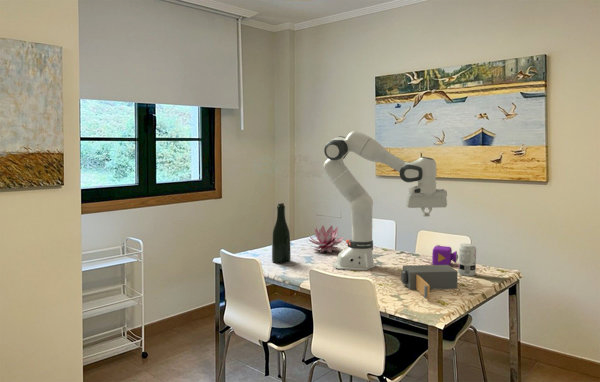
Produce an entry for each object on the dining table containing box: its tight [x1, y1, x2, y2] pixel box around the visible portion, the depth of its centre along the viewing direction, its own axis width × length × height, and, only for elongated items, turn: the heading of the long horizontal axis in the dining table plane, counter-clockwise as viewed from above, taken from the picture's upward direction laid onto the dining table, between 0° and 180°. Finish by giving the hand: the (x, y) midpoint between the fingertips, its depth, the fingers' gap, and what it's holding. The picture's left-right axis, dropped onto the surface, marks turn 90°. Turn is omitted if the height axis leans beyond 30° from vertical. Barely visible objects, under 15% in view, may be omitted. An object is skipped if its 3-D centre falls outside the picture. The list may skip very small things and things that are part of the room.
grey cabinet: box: [400, 264, 459, 291], centre depth 228 cm, size 24×12×8 cm, turn 94°
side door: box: [416, 275, 431, 300], centre depth 213 cm, size 16×2×6 cm, turn 4°
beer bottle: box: [271, 202, 292, 264], centre depth 272 cm, size 10×10×33 cm
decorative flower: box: [309, 225, 344, 253], centre depth 297 cm, size 21×21×15 cm
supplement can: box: [457, 243, 477, 277], centre depth 246 cm, size 8×8×15 cm
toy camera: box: [431, 244, 459, 266], centre depth 266 cm, size 11×14×10 cm
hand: (426, 216), depth 247 cm, fingers closed
